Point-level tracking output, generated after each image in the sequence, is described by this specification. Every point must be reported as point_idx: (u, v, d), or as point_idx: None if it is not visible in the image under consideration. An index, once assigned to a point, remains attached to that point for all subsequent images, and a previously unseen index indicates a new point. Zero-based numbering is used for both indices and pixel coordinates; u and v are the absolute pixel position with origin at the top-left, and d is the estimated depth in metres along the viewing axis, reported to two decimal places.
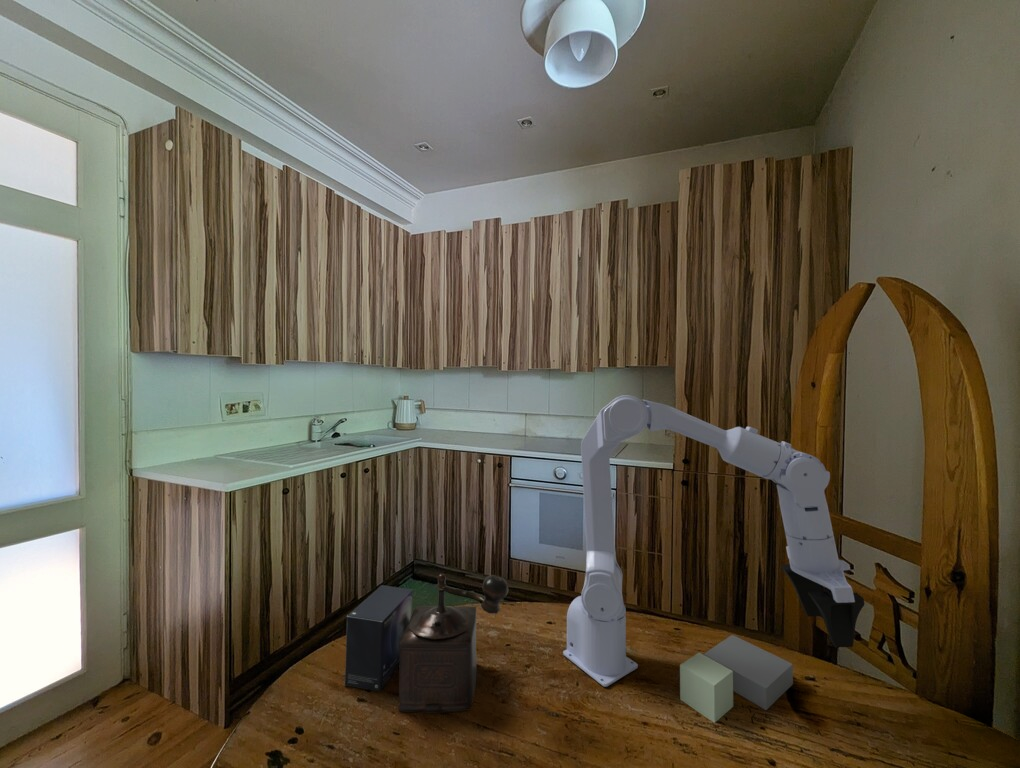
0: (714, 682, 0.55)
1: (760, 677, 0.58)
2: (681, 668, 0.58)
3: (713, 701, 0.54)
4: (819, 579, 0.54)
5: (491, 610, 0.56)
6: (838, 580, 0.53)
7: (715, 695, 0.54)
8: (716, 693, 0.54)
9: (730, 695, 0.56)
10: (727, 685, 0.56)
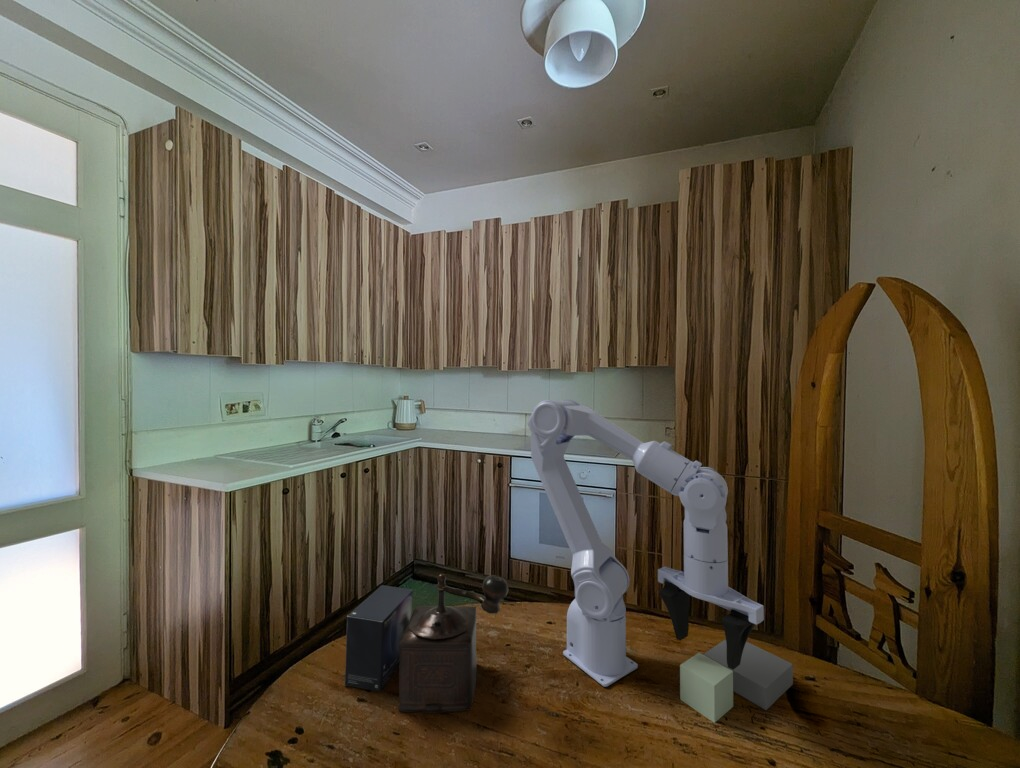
0: (714, 682, 0.55)
1: (760, 677, 0.58)
2: (681, 668, 0.58)
3: (713, 701, 0.54)
4: (733, 603, 0.53)
5: (491, 610, 0.56)
6: (742, 600, 0.54)
7: (715, 695, 0.54)
8: (716, 694, 0.54)
9: (730, 695, 0.56)
10: (727, 685, 0.56)
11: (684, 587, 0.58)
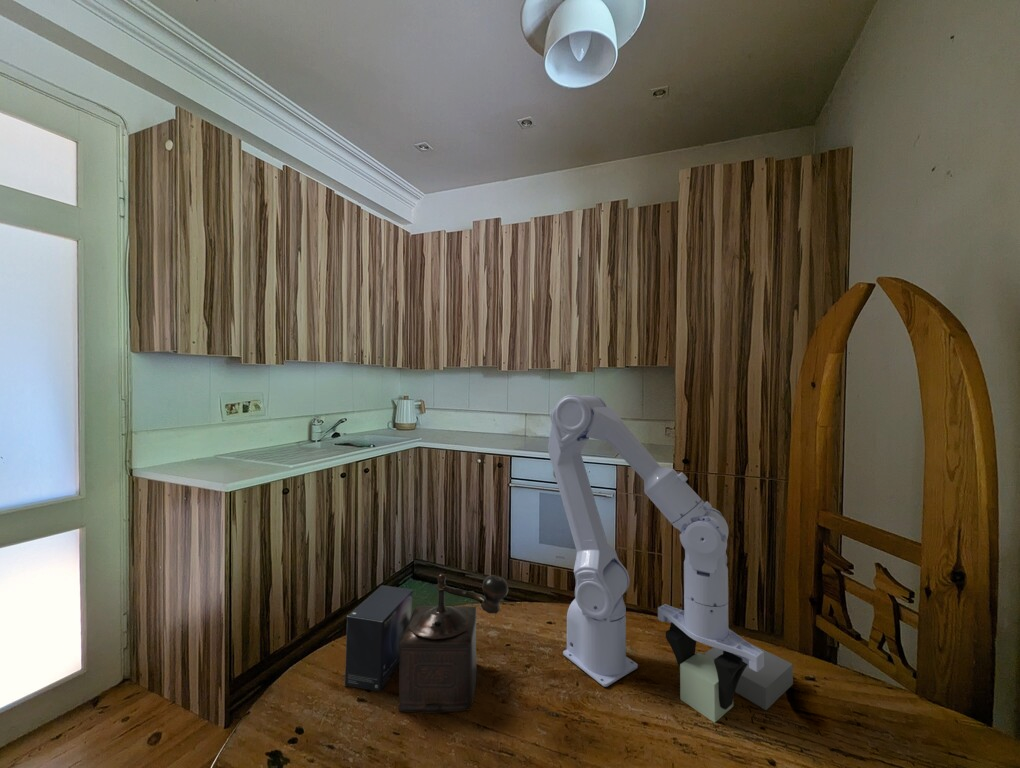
0: (714, 681, 0.55)
1: (760, 677, 0.58)
2: (681, 667, 0.58)
3: (713, 700, 0.54)
4: (734, 648, 0.53)
5: (491, 610, 0.56)
6: (742, 644, 0.54)
7: (716, 695, 0.54)
8: (717, 693, 0.54)
9: None
10: None
11: (684, 629, 0.57)
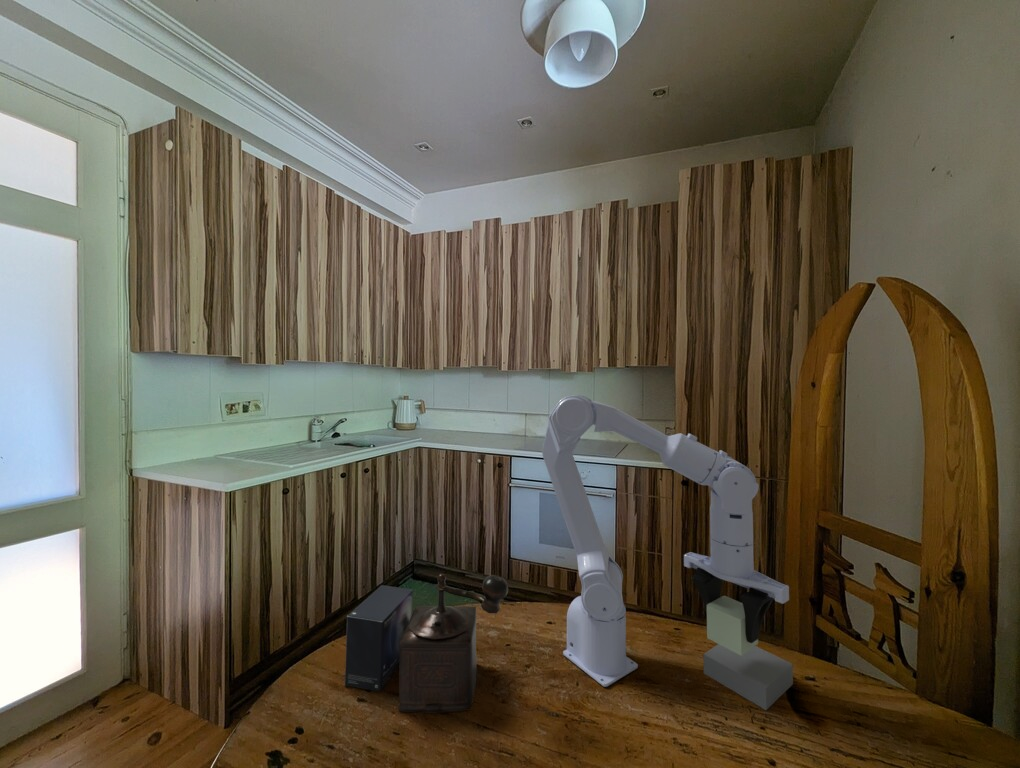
0: (741, 617, 0.58)
1: (760, 677, 0.58)
2: (708, 607, 0.61)
3: (740, 635, 0.57)
4: (760, 584, 0.56)
5: (491, 610, 0.56)
6: None
7: (742, 629, 0.57)
8: (743, 628, 0.57)
9: None
10: None
11: (711, 570, 0.61)
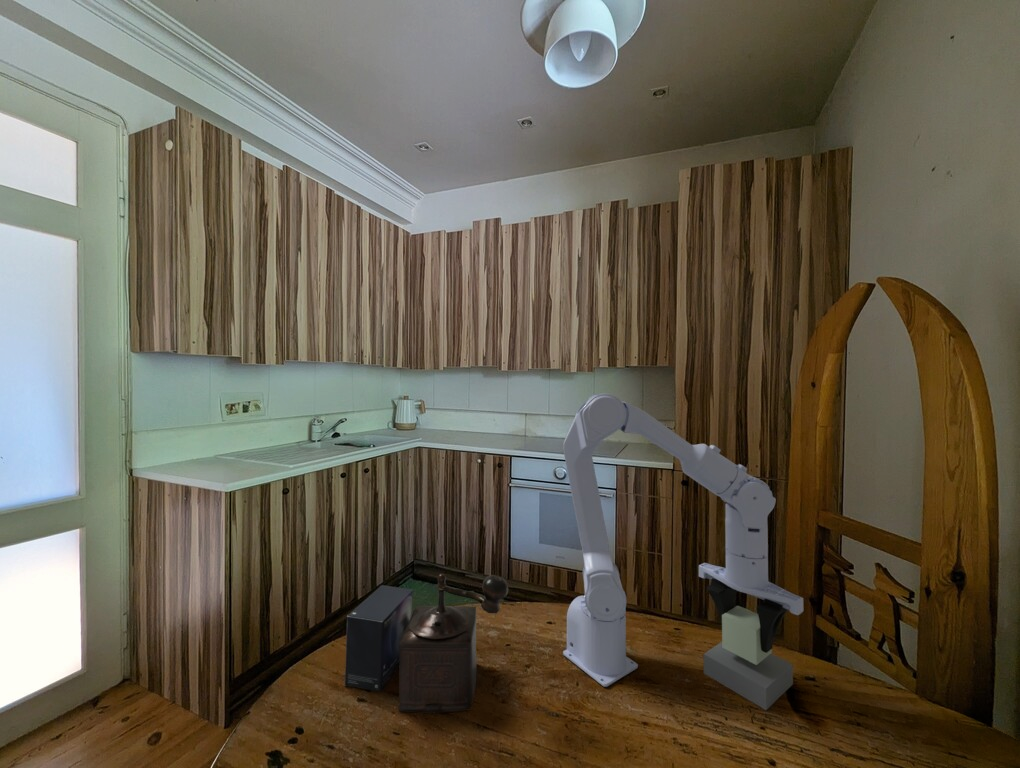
0: (756, 627, 0.59)
1: (760, 677, 0.58)
2: (723, 618, 0.63)
3: (755, 645, 0.59)
4: (775, 595, 0.58)
5: (491, 610, 0.56)
6: (782, 593, 0.59)
7: (757, 639, 0.59)
8: (758, 638, 0.59)
9: None
10: None
11: (727, 581, 0.62)
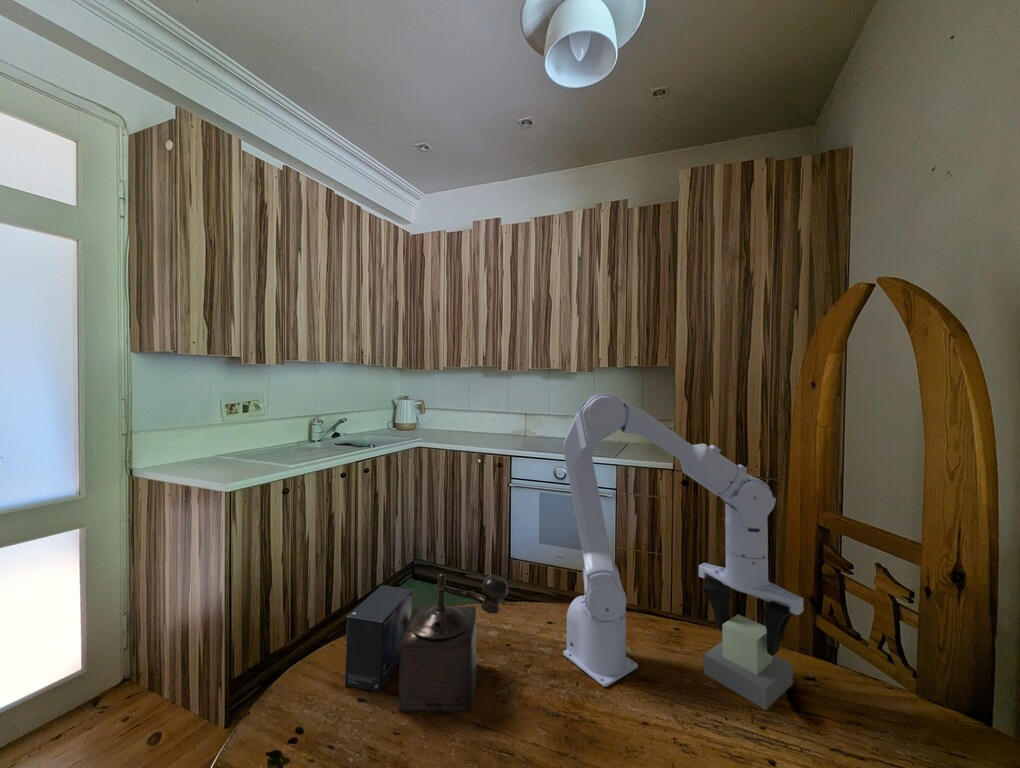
0: (756, 637, 0.59)
1: (760, 677, 0.58)
2: (723, 627, 0.63)
3: (756, 655, 0.59)
4: (775, 595, 0.58)
5: (491, 610, 0.56)
6: (782, 593, 0.59)
7: (758, 649, 0.59)
8: (758, 648, 0.59)
9: None
10: None
11: (727, 581, 0.62)
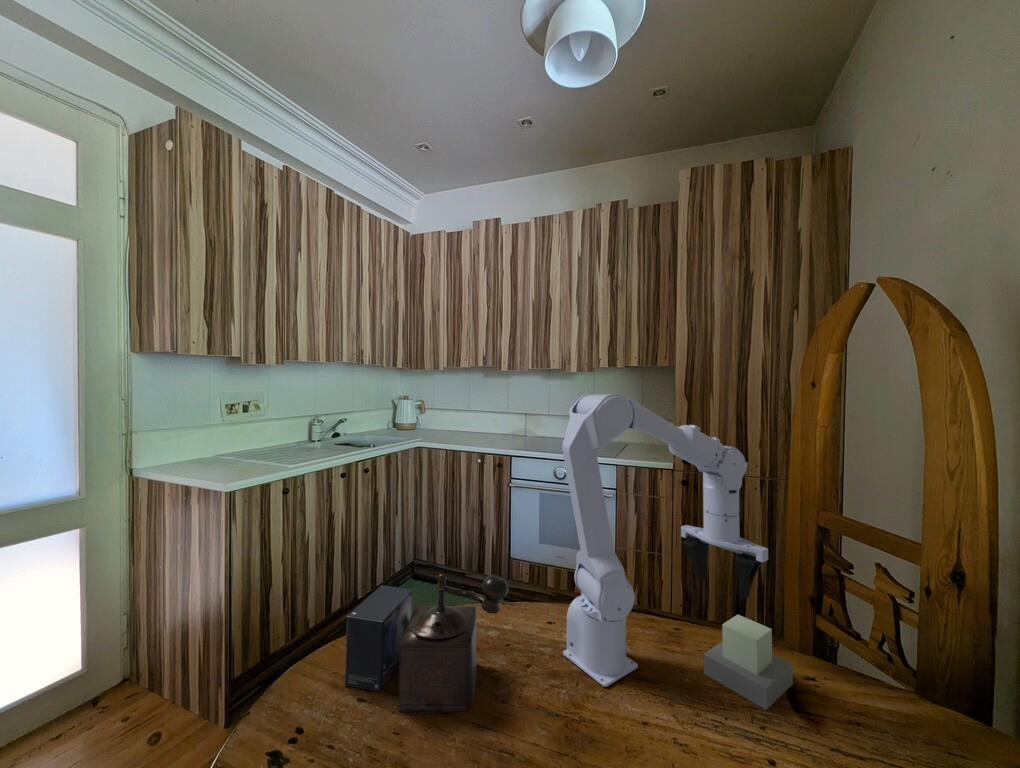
0: (756, 637, 0.59)
1: (760, 677, 0.58)
2: (723, 627, 0.63)
3: (756, 655, 0.59)
4: (744, 547, 0.67)
5: (491, 610, 0.56)
6: None
7: (758, 649, 0.59)
8: (758, 648, 0.59)
9: (769, 650, 0.61)
10: (767, 641, 0.61)
11: (704, 537, 0.72)
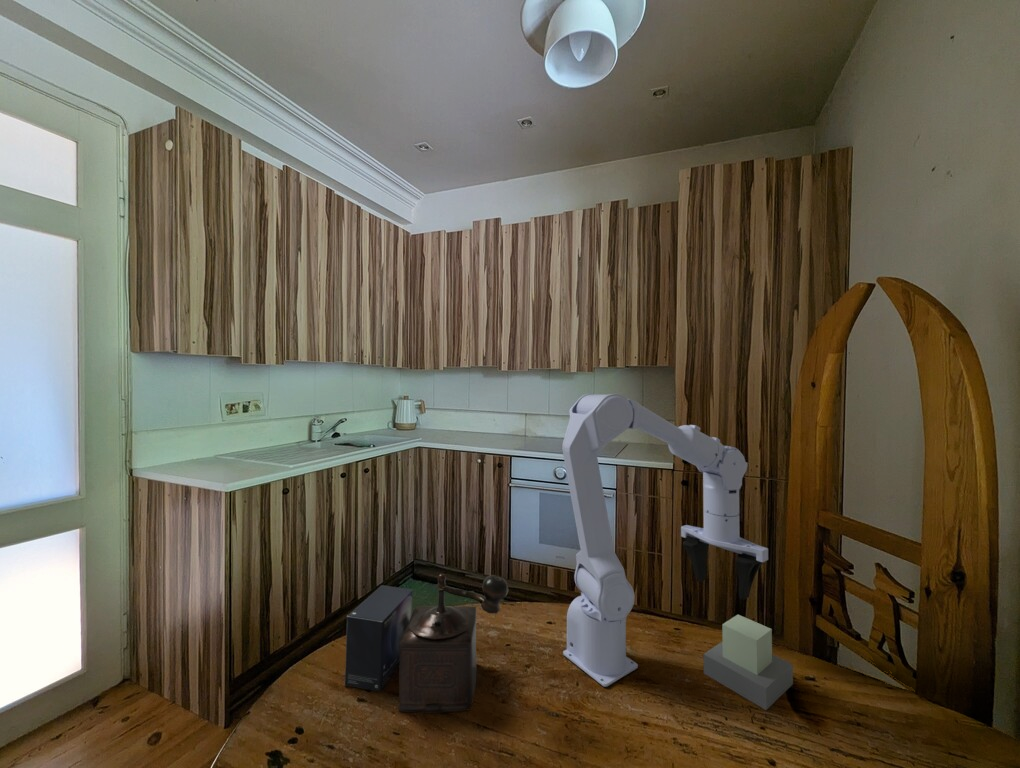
0: (756, 637, 0.59)
1: (760, 677, 0.58)
2: (723, 627, 0.63)
3: (756, 655, 0.59)
4: (744, 547, 0.67)
5: (491, 610, 0.56)
6: None
7: (758, 649, 0.59)
8: (758, 648, 0.59)
9: (769, 650, 0.61)
10: (767, 641, 0.61)
11: (704, 537, 0.72)
